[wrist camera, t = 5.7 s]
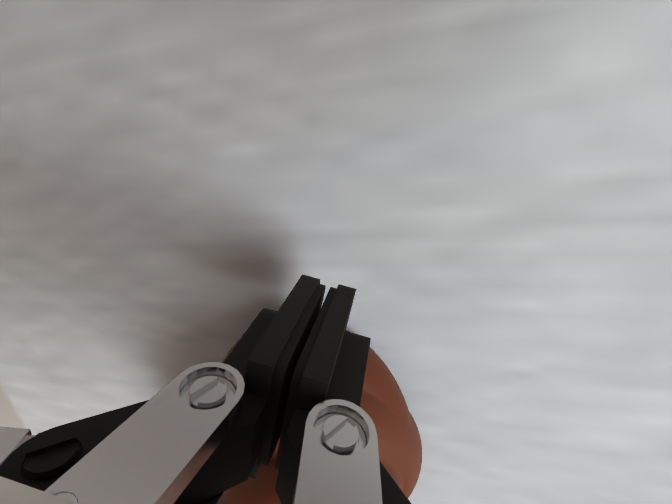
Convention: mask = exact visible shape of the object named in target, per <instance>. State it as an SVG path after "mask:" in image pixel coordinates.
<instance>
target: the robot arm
mask: <svg viewBox="0 0 672 504" xmlns="http://www.w3.org/2000/svg"><path fill="white" fill-rule="evenodd" d="M324 292H325V285H321V284H320V279H317V278H313V277H310V276H306V275H302V276H301V277H300V279H299V280H298V282H297V283H296V285H295V286H294V288H293V290H292V291H291V293H290V294H289V296H288V297H287V299H286V300H285V302H284V303H283V305H282V306H281V308H280V309H279V311H278V312H277V311H273V310H270V309H266V308H265V309H263V310H262V311H261V312H260V313H259V315H258V316H257V317H256V319H255V320H254V321H253V323H252V324H251V326H250V327H249V328H248V330H247V331H246V332H245V334H244V335H243V336H242V338H241V339H240V340H239V342H238V343H237V344H236V346H235V347H234V348H233V350H232V351H231V352H230V354H229V355H228V357H227V358H226V359H225V361H224V362H223V363H220V362H206V363H199V364H197V365H194V366H191V367H189V368H187V369H186V370H184V371H183V372H181V373H180V374H179V375H178V376H176V377H175V378H174V379H173V380H172V381H171V382H169V383H168V384H167V385H166V386H165V387H164V388H163V389H161V390H160V391H159V392H158V393H157V394H156V395H155V396H153V397H152V398H151V399H150V400H147V401H144V402H140V403H137V404H134V405H130V406H127V407H123V408H120V409H116V410H113V411H109V412H106V413H102V414H99V415H96V416H92V417H89V418H85V419H82V420H78V421H75V422H71V423H68V424H65V425H61V426H58V427H54V428H52V429H49V430H47V431H44V432H42V433H39V434H37V435H36V436H34V435H31V431H30V429H21V428H10V427H0V504H225V503H226V501H227V499H228V497H229V495H230V493H231V491H232V487H234V486H236V485H238V484H240V483H242V482H244V481H246V480H248V478H249V477H251V478H254V479H255V477H256V474H257V472H258V470H259V467H260V465H261V464H262V465H265V466H269V464H270V461H271V459H272V456H273V454H274V451H275V449H276V446H277V443H278V441H279V438H280V442H279V447H278V452H277V457H276V462H275V469H277V470H279V471H278V476H277V481H276V486H275V491H276V493H277V495H278V497H279V499H280V502H281V504H411V503H410V501H409V500H408V499H407V497H406V496H405V495H404V493H403V492H402V490H401V489H400V488H399V486H398V485H397V484H396V482H395V481H394V480H393V478H392V477H391V476H390V474H389V473H388V471H387V470H386V469H385V467H384V466H383V465H382V463H381V462H380V461H379V452H378V439H377V432H376V428H375V424H374V423H373V421H372V419H371V418H370V416H369V415H368V414H367V413H366V412H365V411H364V410H363V409H362V408H361V407H360V403H361V397H362V390H363V384H364V378H365V371H366V365H367V358H368V352H369V346H370V338H368V337H365V336H361V335H358V334H354V333H351V332H347V331H346V327H347V323H348V319H349V315H350V311H351V307H352V303H353V299H354V295H355V292H356V289H354V288H350V287H347V286H343V285H338V287H337V289H336V288H332V287H330V290H329V292H328V294H327V296H326V299H325V301H324V303H323V305H322V301H323V297H324ZM321 306H322V308H321Z"/></svg>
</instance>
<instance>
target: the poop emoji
mask: <svg viewBox="0 0 672 504" xmlns="http://www.w3.org/2000/svg"><path fill="white" fill-rule="evenodd" d="M347 332H348V331H347ZM238 342H239V341H238ZM238 342H237V343H238ZM237 343H236V344H237ZM236 344H235V345H234V346H233V347H232V348H231V350H230V351H229V352H228V354H227V355H226V357H225V359H226V358H227V357H228V355H229V354H230V352H231V351H232V350H233V348H234V347H235V346H236ZM225 359H224V361H225ZM224 361H223V362H224ZM223 362H222V363H223ZM360 407H361V408H362V409H363V410H364V411H365V412H366V413H367V414H368V415H369V416H370V418H371V419H372V421H373V423H374V424H375V428H376V432H377V439H378V452H379V461H380V462H381V463H382V465H383V466H384V467H385V469H386V470H387V471H388V473H389V474H390V476H391V477H392V478H393V480H394V481H395V482H396V484H397V485H398V486H399V488H400V489H401V490H402V492H403V493H404V495H405V496H406V497H407V499H408V497H409V496H410V494H411V493H412V491H413V489H414V487H415V485H416V483H417V480H418V477H419V474H420V469H421V463H422V446H421V439H420V435H419V431H418V428H417V426H416V423H415V421H414V419H413V417H412V415H411V414H410V412H409V411H408V407H407V405H406V402H405V399H404V397H403V394H402V392H401V390H400V388H399V386H398V384H397V382H396V380H395V378H394V377H393V375H392V374H391V372H390V370H389V369H388V368H387V366H386V365H385V363H384V362H383V361H382V360H381V359H380V357H379V356H378V355H377V354H376V353H375V352H374V351H373V350H372V349H371V348H370V347H369V352H368V358H367V365H366V371H365V378H364V384H363V390H362V397H361V403H360ZM279 442H280V438H279V441H278V443H277V446H276V449H275V451H274V454H273V456H272V459H271V461H270V464H269V466H265V465H262V464H261V465H260V467H259V470H258V472H257V474H256V477H255V479H254V478H251V477H249V478H248V480H246V481H244V482H242V483H240V484H238V485H236V486H234V487H232V491H231V493H230V495H229V497H228V499H227V501H226V503H225V504H281V502H280V499H279V497H278V495H277V493H276V491H275V486H276V481H277V476H278V471H279V470H277V469H275V462H276V457H277V452H278V447H279Z"/></svg>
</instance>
